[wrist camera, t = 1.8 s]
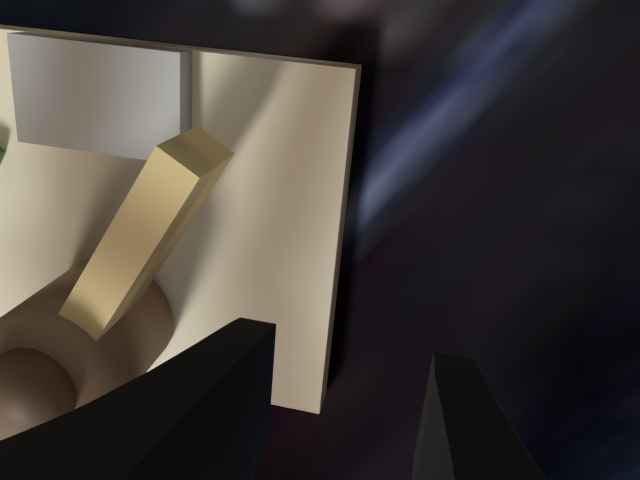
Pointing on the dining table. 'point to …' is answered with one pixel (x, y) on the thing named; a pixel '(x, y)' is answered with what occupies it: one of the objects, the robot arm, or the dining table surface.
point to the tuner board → (219, 206)
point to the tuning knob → (106, 295)
